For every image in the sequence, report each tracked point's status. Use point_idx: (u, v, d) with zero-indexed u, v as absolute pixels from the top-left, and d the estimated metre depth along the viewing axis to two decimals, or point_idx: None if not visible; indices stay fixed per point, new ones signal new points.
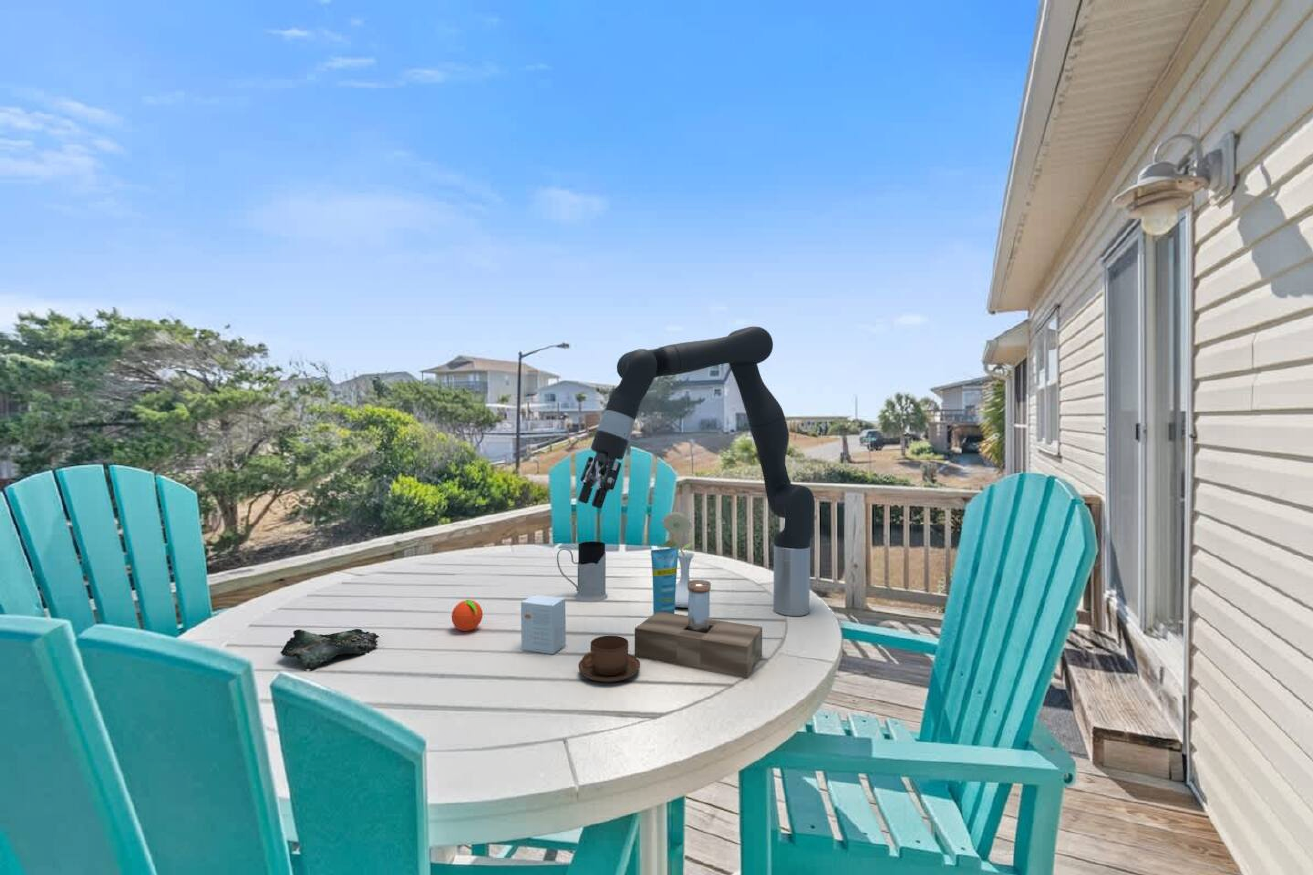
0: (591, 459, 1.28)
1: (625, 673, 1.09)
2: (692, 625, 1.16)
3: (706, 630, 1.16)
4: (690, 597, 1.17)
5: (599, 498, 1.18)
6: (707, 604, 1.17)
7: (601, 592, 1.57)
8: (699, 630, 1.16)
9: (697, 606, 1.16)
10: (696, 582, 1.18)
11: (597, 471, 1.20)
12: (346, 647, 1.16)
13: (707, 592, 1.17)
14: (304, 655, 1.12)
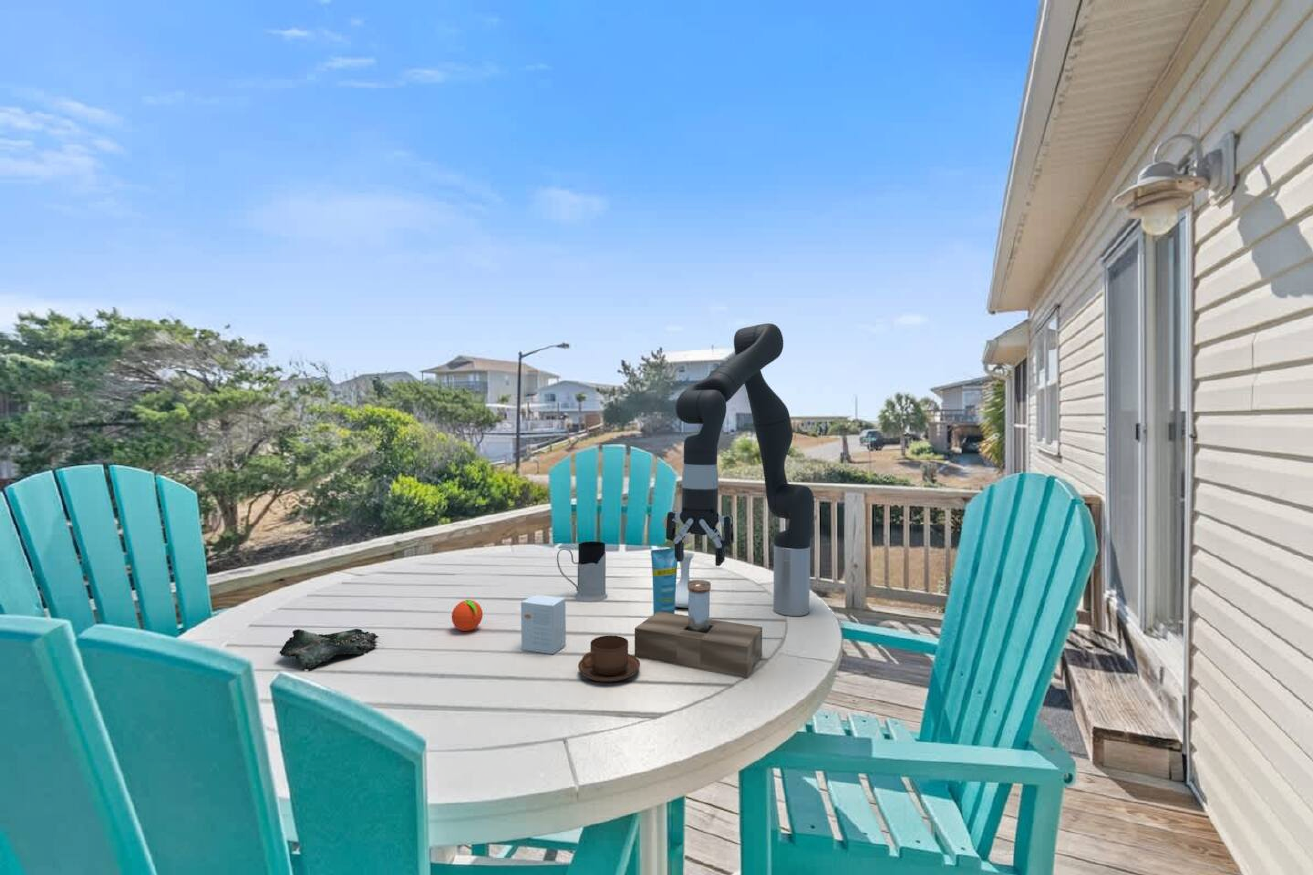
0: (673, 514, 1.19)
1: (625, 673, 1.09)
2: (692, 625, 1.16)
3: (706, 630, 1.16)
4: (690, 597, 1.17)
5: (722, 556, 1.15)
6: (707, 604, 1.17)
7: (601, 592, 1.57)
8: (699, 630, 1.16)
9: (697, 606, 1.16)
10: (696, 582, 1.18)
11: (708, 530, 1.15)
12: (345, 647, 1.16)
13: (707, 592, 1.17)
14: (303, 655, 1.12)
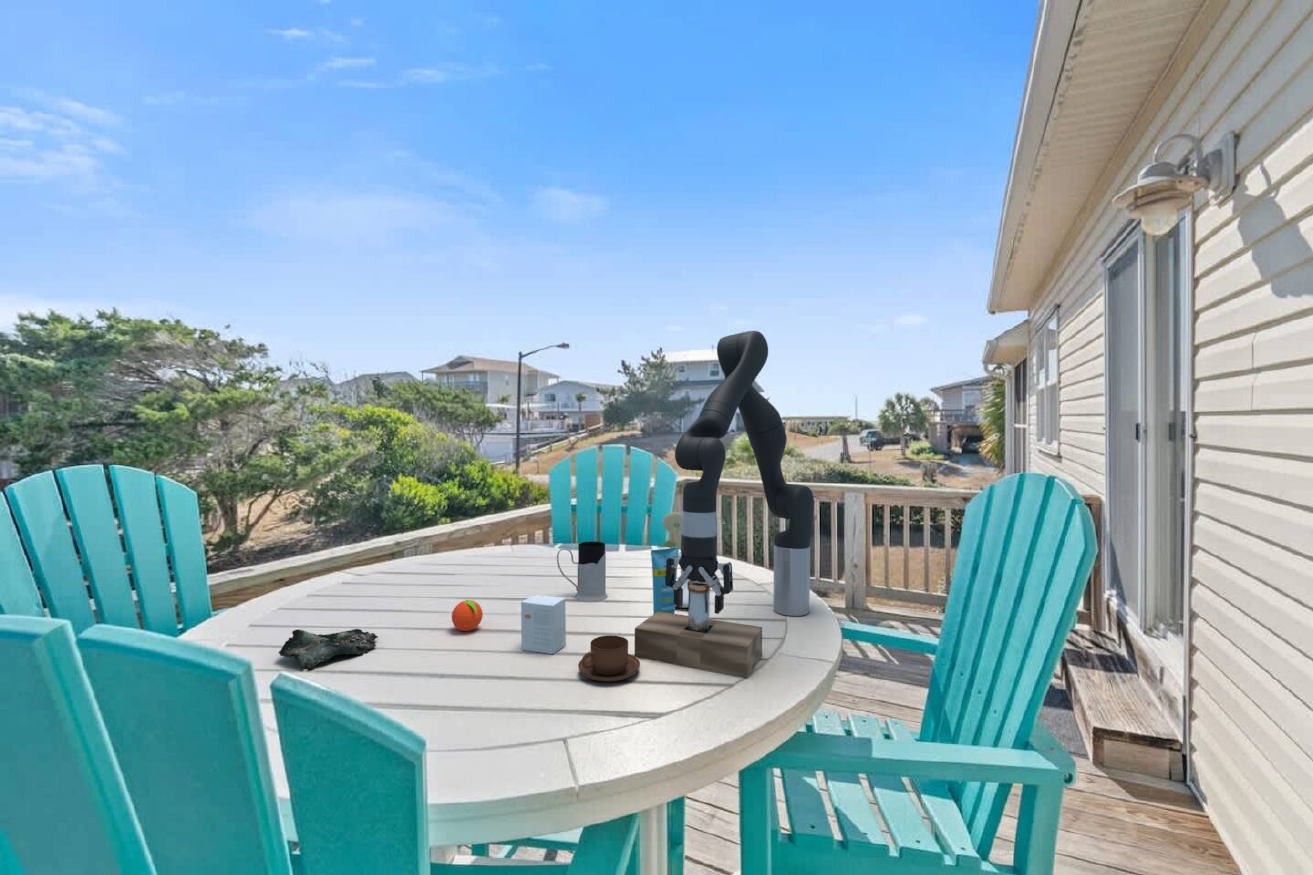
0: (672, 560, 1.19)
1: (625, 673, 1.09)
2: (692, 625, 1.16)
3: (706, 630, 1.16)
4: (690, 597, 1.17)
5: (722, 604, 1.15)
6: (707, 604, 1.17)
7: (601, 592, 1.57)
8: (699, 630, 1.16)
9: (697, 606, 1.16)
10: (696, 582, 1.18)
11: (707, 578, 1.15)
12: (344, 647, 1.16)
13: (707, 592, 1.17)
14: (302, 655, 1.12)
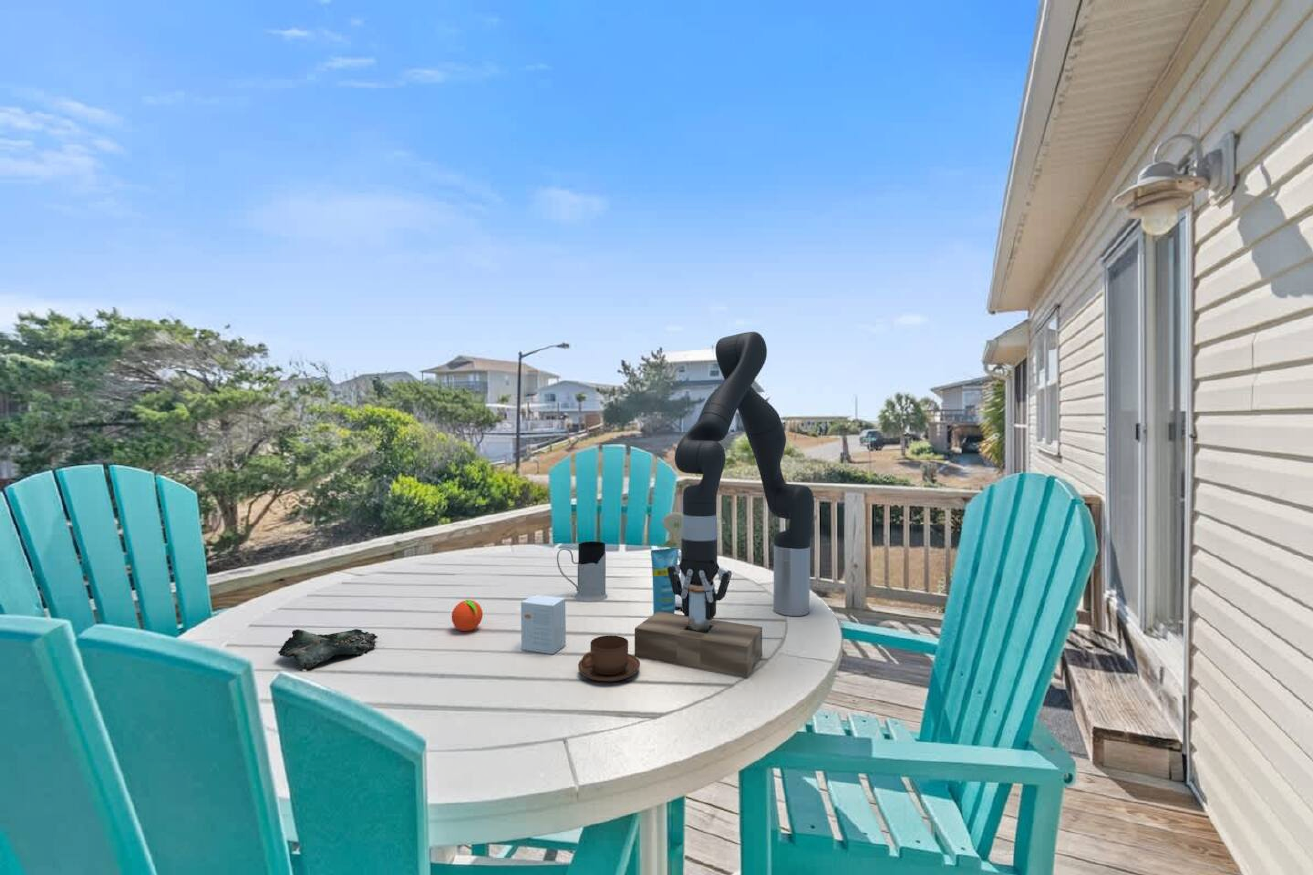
0: (673, 568, 1.19)
1: (625, 673, 1.09)
2: (692, 625, 1.16)
3: (706, 630, 1.16)
4: (690, 597, 1.17)
5: (714, 610, 1.16)
6: None
7: (601, 592, 1.57)
8: (699, 630, 1.16)
9: (697, 607, 1.16)
10: None
11: (704, 583, 1.16)
12: (343, 647, 1.16)
13: None
14: (301, 655, 1.12)
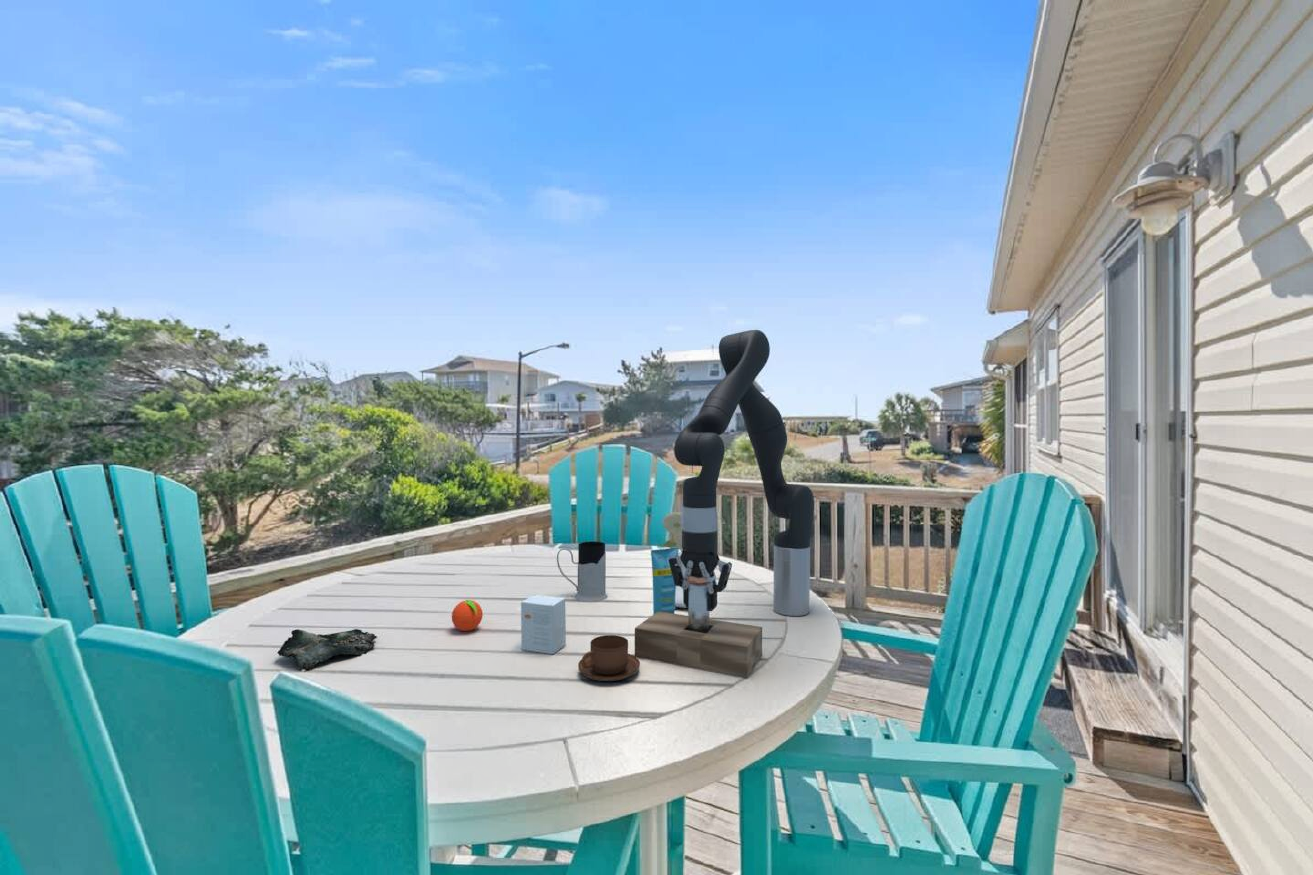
0: (674, 560, 1.20)
1: (625, 672, 1.09)
2: (692, 618, 1.16)
3: (706, 622, 1.16)
4: (690, 589, 1.17)
5: (715, 602, 1.17)
6: (707, 596, 1.17)
7: (601, 592, 1.57)
8: (699, 622, 1.16)
9: (697, 599, 1.16)
10: None
11: (705, 574, 1.16)
12: (342, 647, 1.16)
13: None
14: (300, 655, 1.12)
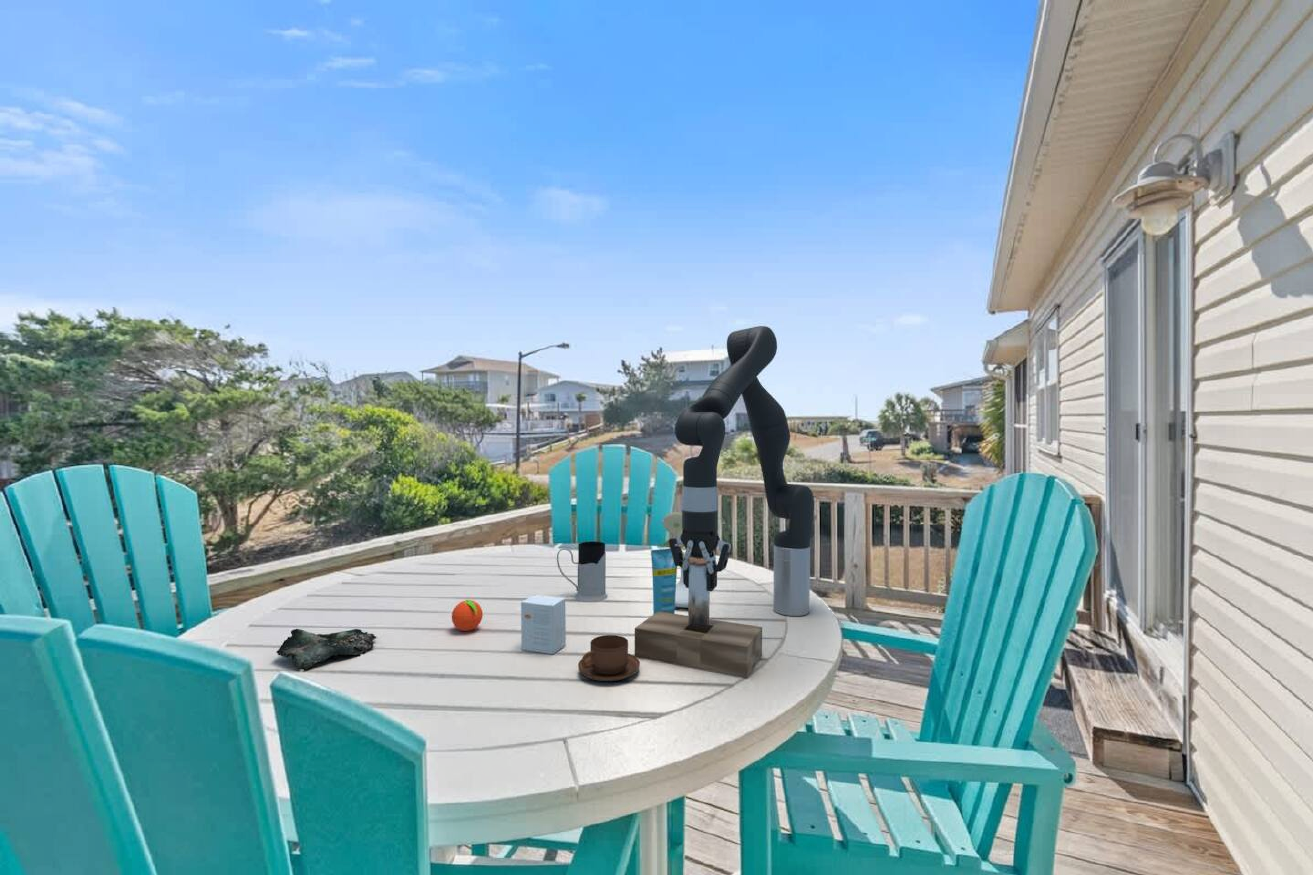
0: (674, 540, 1.20)
1: (625, 672, 1.09)
2: (692, 598, 1.16)
3: (706, 603, 1.16)
4: (690, 570, 1.17)
5: (715, 582, 1.16)
6: (707, 577, 1.16)
7: (601, 592, 1.57)
8: (699, 603, 1.16)
9: (697, 579, 1.16)
10: None
11: (705, 554, 1.16)
12: (341, 648, 1.16)
13: None
14: (299, 655, 1.12)
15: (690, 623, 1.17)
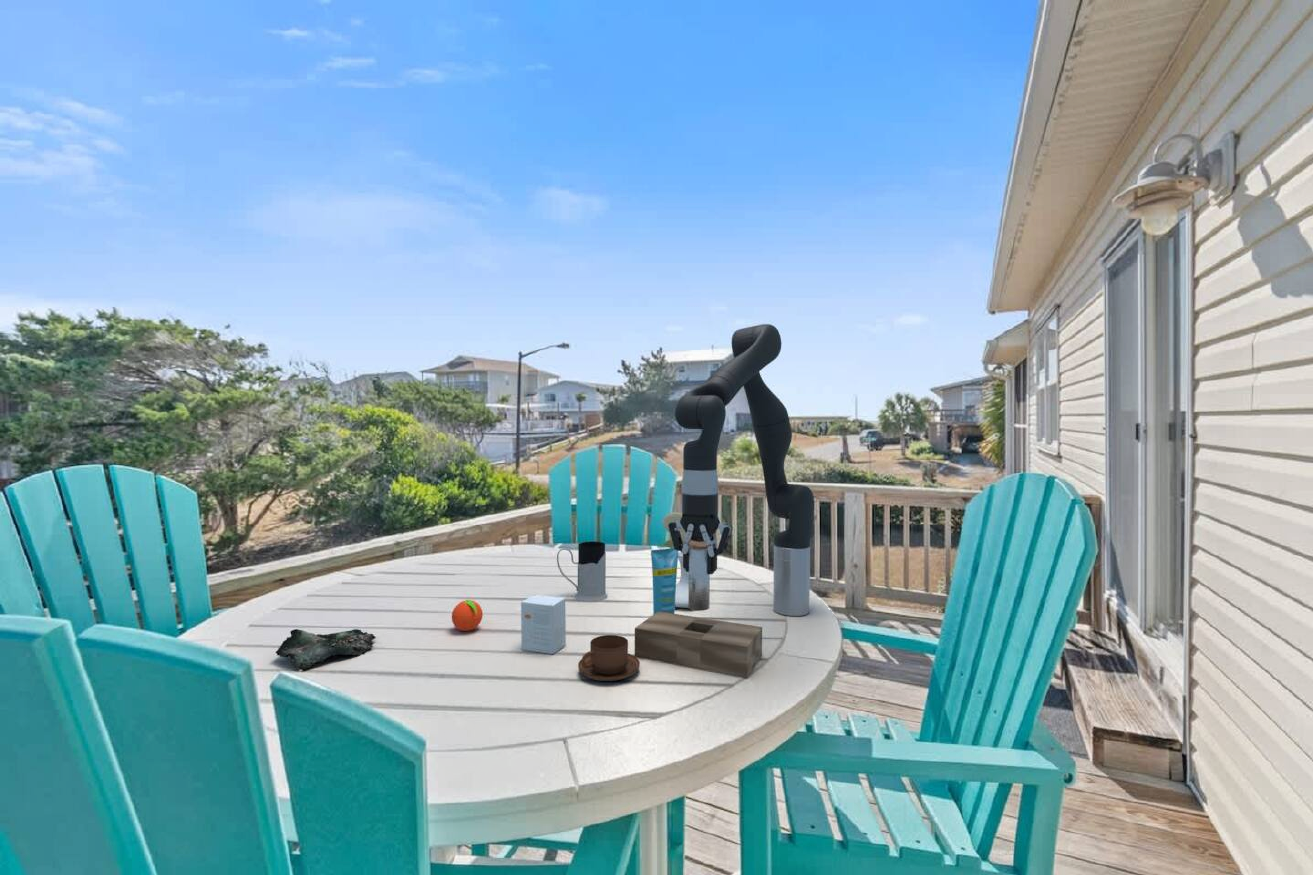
0: (673, 524, 1.20)
1: (625, 672, 1.09)
2: (692, 581, 1.16)
3: (706, 586, 1.16)
4: (690, 553, 1.17)
5: (715, 565, 1.16)
6: (707, 560, 1.16)
7: (601, 592, 1.57)
8: (699, 586, 1.16)
9: (697, 562, 1.16)
10: (696, 539, 1.18)
11: (705, 537, 1.16)
12: (340, 648, 1.16)
13: None
14: (298, 655, 1.12)
15: (690, 606, 1.17)
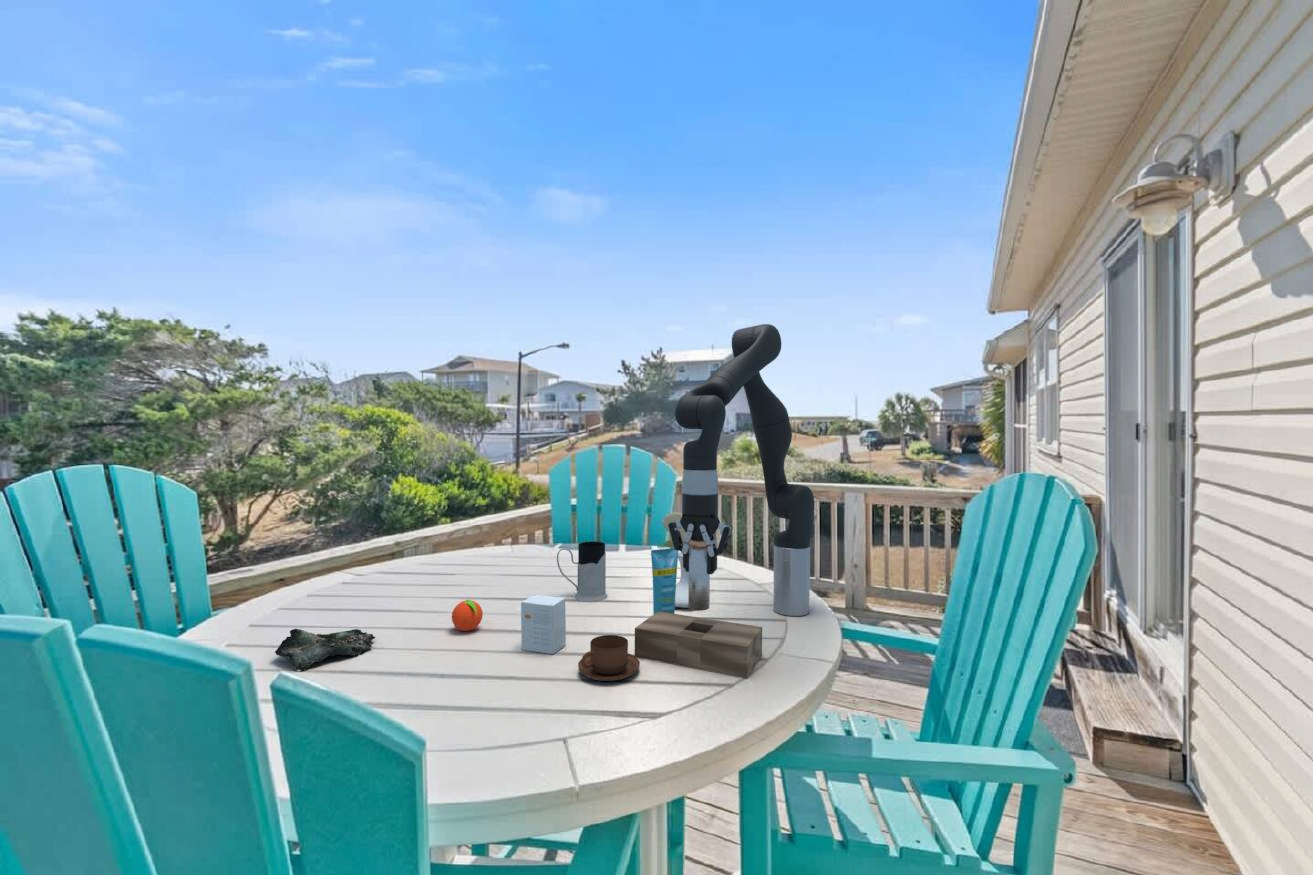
0: (673, 524, 1.20)
1: (625, 672, 1.09)
2: (692, 581, 1.16)
3: (706, 586, 1.16)
4: (690, 553, 1.17)
5: (715, 565, 1.16)
6: (707, 560, 1.16)
7: (601, 592, 1.57)
8: (699, 586, 1.16)
9: (697, 562, 1.16)
10: (696, 539, 1.18)
11: (705, 537, 1.16)
12: (339, 648, 1.16)
13: None
14: (297, 655, 1.12)
15: (690, 606, 1.17)
